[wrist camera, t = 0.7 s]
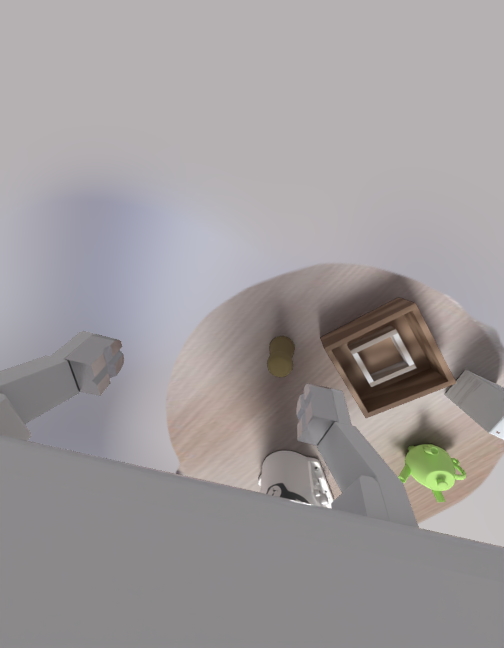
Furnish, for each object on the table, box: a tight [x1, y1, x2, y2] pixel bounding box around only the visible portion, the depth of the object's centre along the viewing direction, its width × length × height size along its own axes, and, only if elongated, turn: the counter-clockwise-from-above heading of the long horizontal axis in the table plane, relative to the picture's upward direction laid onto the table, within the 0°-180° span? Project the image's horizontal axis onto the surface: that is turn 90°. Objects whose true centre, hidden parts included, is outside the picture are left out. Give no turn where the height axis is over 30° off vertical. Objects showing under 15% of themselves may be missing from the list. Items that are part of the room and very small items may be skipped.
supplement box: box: [445, 370, 504, 440], centre depth 46 cm, size 7×7×13 cm
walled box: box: [320, 298, 456, 418], centre depth 50 cm, size 18×18×7 cm
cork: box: [267, 336, 295, 377], centre depth 51 cm, size 6×6×11 cm
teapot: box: [398, 444, 466, 502], centre depth 53 cm, size 11×12×8 cm
